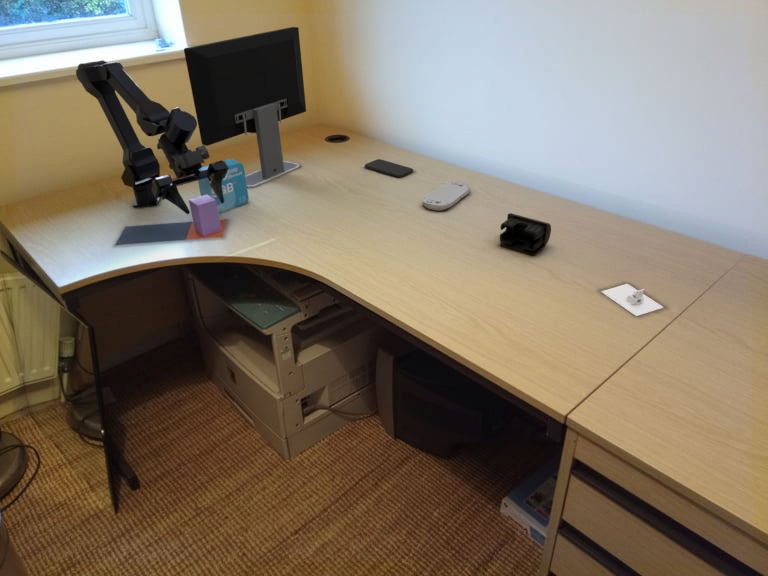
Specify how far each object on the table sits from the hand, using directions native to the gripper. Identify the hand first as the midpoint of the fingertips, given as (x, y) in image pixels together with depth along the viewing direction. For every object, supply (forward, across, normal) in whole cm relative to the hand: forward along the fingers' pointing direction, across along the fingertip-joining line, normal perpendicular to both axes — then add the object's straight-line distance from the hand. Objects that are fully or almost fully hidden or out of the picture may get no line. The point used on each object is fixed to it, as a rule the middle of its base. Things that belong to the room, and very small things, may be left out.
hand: (206, 208), depth 145 cm
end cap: (+46, +52, -36) cm, 78 cm away
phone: (+3, +62, +7) cm, 63 cm away
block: (+4, 0, +6) cm, 7 cm away
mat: (0, -7, +10) cm, 12 cm away
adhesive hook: (+67, +48, -57) cm, 100 cm away
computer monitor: (-13, +32, +24) cm, 42 cm away
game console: (+24, +58, -14) cm, 64 cm away
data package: (-4, +11, +14) cm, 18 cm away
